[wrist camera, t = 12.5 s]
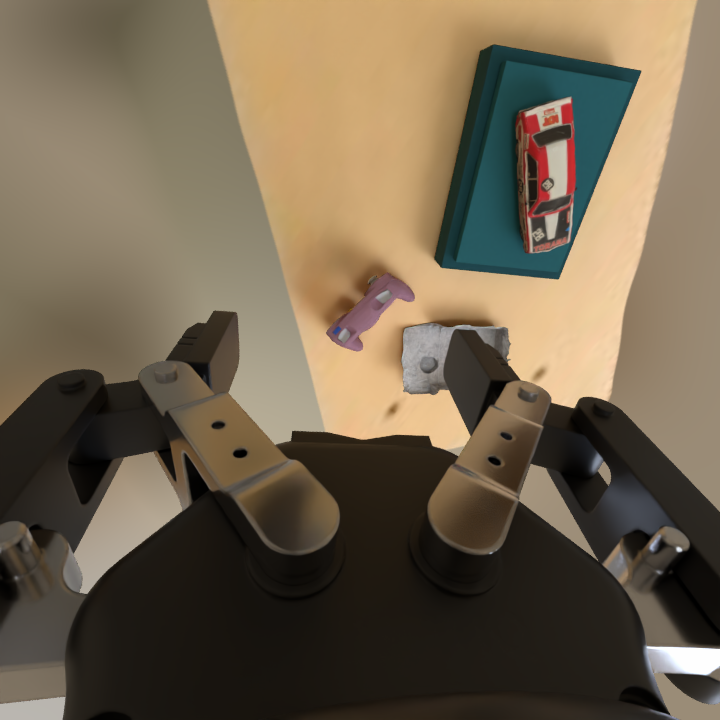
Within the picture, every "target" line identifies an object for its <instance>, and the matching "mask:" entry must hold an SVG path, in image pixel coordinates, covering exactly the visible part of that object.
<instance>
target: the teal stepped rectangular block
mask: <svg viewBox="0 0 720 720" xmlns="http://www.w3.org/2000/svg"><path fill="white" fill-rule="evenodd" d="M640 74H641V71H640V70H634V69H629V68H623V67H617V66H612V65H606V64H601V63H595V62H589V61H584V60H578V59H573V58H567V57H561V56H556V55H550V54H545V53H539V52H533V51H528V50H522V49H516V48H511V47H505V46H500V45H492V46H490V47H488V48H486V49H484V50H482V51H480V55H479V60H478V64H477V69H476V74H475V78H474V83H473V87H472V92H471V96H470V101H469V105H468V110H467V114H466V119H465V123H464V128H463V132H462V137H461V141H460V146H459V150H458V155H457V159H456V164H455V168H454V173H453V177H452V182H451V186H450V191H449V195H448V200H447V204H446V209H445V214H444V218H443V223H442V227H441V232H440V236H439V241H438V245H437V250H436V254H435V261H436V262H437V263H438V264H439V265H440V267H441V268H449V269H459V270H469V271H479V272H489V273H499V274H509V275H519V276H529V277H539V278H549V279H559V277H560V275H561V272H562V270H563V267H564V265H565V262H566V260H567V257H568V255H569V252H570V250H571V247H572V245H573V242H574V240H575V237H576V235H577V232H578V230H579V227H580V225H581V222H582V220H583V217H584V215H585V212H586V209H587V207H588V204H589V202H590V199H591V197H592V194H593V192H594V189H595V187H596V184H597V182H598V179H599V177H600V174H601V172H602V169H603V167H604V164H605V162H606V159H607V157H608V154H609V152H610V149H611V147H612V144H613V142H614V139H615V137H616V134H617V132H618V129H619V127H620V124H621V122H622V119H623V117H624V114H625V111H626V109H627V106H628V104H629V101H630V99H631V96H632V94H633V91H634V89H635V86H636V84H637V81H638V79H639V76H640ZM570 96H572V97H571V98H572V99H573V103H572V109H573V118H574V144H575V156H576V184H575V188H576V187H577V190H576V191H574V203H573V213H572V232H571V240H570V242H569V243H566V244H564V245H561V246H558V247H556V248H554V249H552V250H550V251H548V252H540V253H530V254H528V253H525V250H524V248H523V243H524V242H523V240H522V239H521V235H520V219H519V200H518V180H517V158H516V152H515V147H516V143H517V141H516V131H515V130H516V127H515V123H516V119H517V115H518V112H519V111H520V110H525V109H528V108H531V107H534V106H537V105H541V104H543V103H546V102H549V101H553V100H557V99H561V98H564V97H570Z"/></svg>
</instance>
